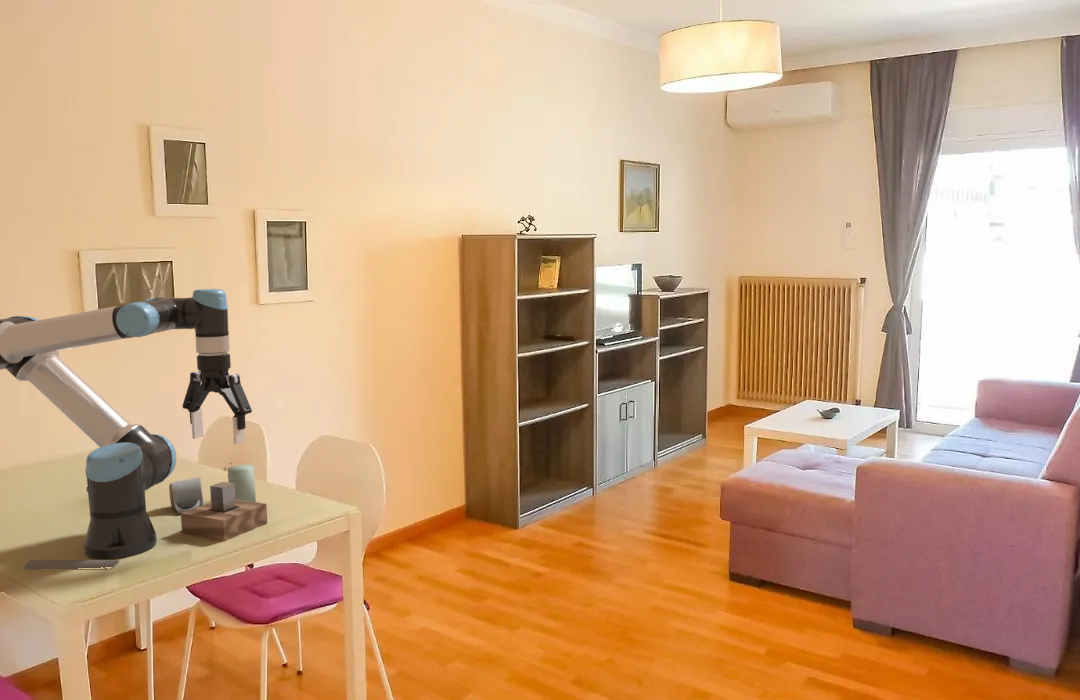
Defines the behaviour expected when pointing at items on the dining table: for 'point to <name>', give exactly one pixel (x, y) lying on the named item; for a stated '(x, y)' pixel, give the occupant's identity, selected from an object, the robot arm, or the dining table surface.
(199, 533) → the socket block
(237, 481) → the round peg
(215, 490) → the square peg
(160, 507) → the dining table surface
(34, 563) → the half round rod
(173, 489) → the ceramic mug
